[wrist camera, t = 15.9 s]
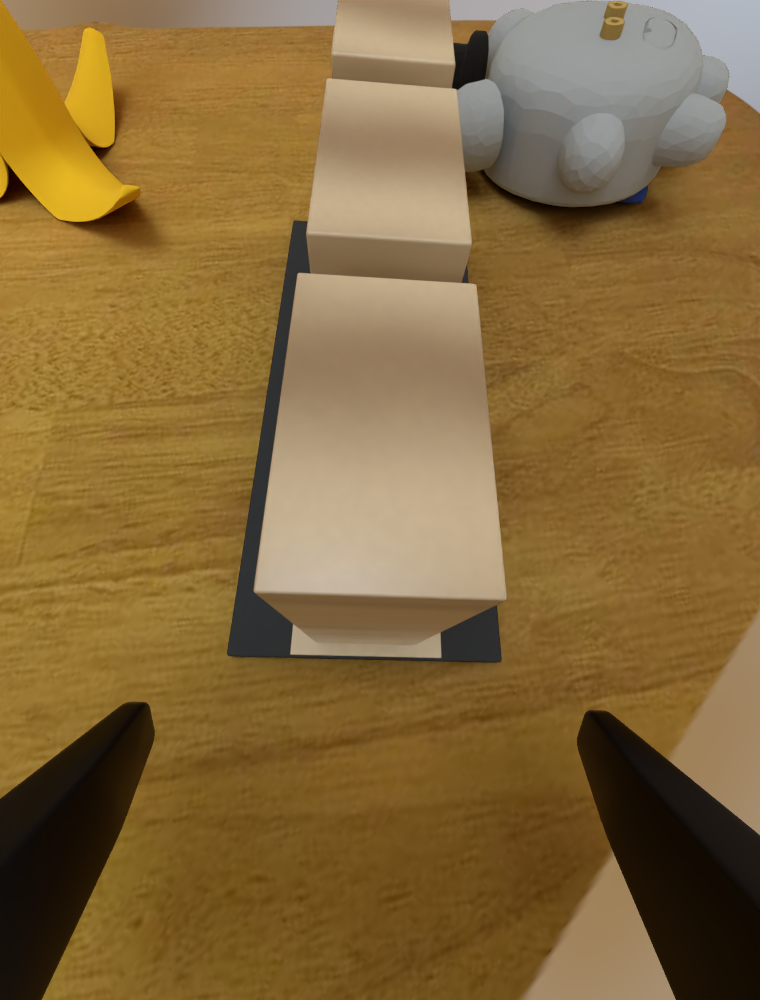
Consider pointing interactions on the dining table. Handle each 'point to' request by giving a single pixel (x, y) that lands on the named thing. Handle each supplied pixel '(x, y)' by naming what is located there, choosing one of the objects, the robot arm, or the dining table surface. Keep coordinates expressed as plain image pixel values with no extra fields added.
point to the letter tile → (381, 464)
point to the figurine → (586, 101)
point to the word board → (253, 618)
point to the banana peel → (58, 128)
